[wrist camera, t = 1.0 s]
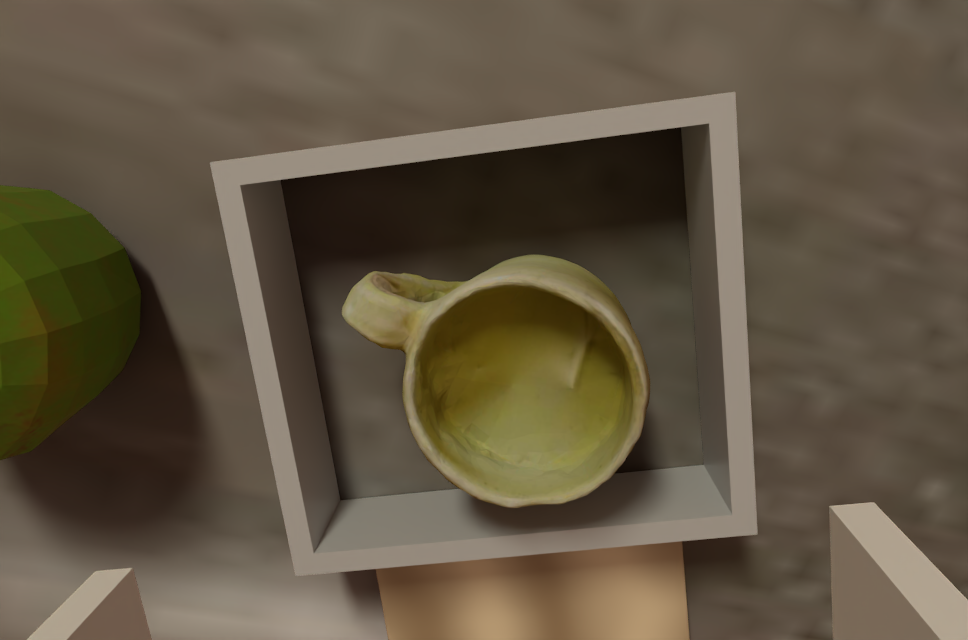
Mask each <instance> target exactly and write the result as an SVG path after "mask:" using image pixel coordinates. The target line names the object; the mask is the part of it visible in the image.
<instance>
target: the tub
mask: <svg viewBox="0 0 968 640" xmlns="http://www.w3.org/2000/svg"><path fill="white" fill-rule="evenodd" d="M678 127H681V135H682V150H683V165H684V180H685V195H686V210H687V225H688V240H689V255H690V270H691V285H692V300H693V315H694V330H695V345H696V360H697V375H698V390H699V404H700V419H701V434H702V449H703V464H704V465H697V466H687V467H676V468H666V469H656V470H646V471H636V472H625V473H615V474H614V475H613V476H612V477H611V478H610V479H609V480H607V481H606V482H604V483H602V484H601V485H600V486H599V487H598V488H596V489H595V490H593V491H592V492H591V493H589V494H588V495H586V496H583V497H580V498H578V499H575V500H571V501H568V502H566V503H564V504H544V505H531V506H524V507H520V508H507V507H503V506H499V505H496V504H492V503H488V502H485V501H482V500H479V499H476V498H474V497H472V496H471V495H469V494H468V493H466V492H465V491H463V490H461V489H451V490H441V491H431V492H421V493H410V494H400V495H390V496H380V497H369V498H359V499H349V500H340V495H339V490H338V485H337V479H336V474H335V469H334V463H333V458H332V453H331V447H330V442H329V437H328V431H327V426H326V420H325V415H324V410H323V404H322V399H321V394H320V388H319V383H318V378H317V372H316V367H315V362H314V356H313V351H312V346H311V340H310V335H309V330H308V324H307V319H306V314H305V308H304V303H303V298H302V292H301V287H300V282H299V276H298V271H297V266H296V260H295V255H294V250H293V244H292V239H291V234H290V228H289V223H288V218H287V212H286V207H285V202H284V196H283V191H282V186H281V180H283V179H290V178H298V177H305V176H313V175H321V174H328V173H336V172H343V171H351V170H359V169H366V168H374V167H381V166H389V165H397V164H404V163H412V162H419V161H427V160H435V159H442V158H450V157H458V156H465V155H473V154H480V153H488V152H496V151H503V150H511V149H518V148H526V147H534V146H541V145H549V144H556V143H564V142H572V141H579V140H587V139H594V138H602V137H610V136H617V135H625V134H632V133H640V132H648V131H655V130H663V129H670V128H678ZM210 166H211V170H212V175H213V180H214V185H215V190H216V194H217V199H218V204H219V209H220V214H221V219H222V223H223V228H224V233H225V238H226V243H227V248H228V252H229V257H230V262H231V267H232V272H233V276H234V281H235V286H236V291H237V296H238V301H239V305H240V310H241V315H242V320H243V325H244V329H245V334H246V339H247V344H248V349H249V354H250V358H251V363H252V368H253V373H254V378H255V383H256V387H257V392H258V397H259V402H260V407H261V411H262V416H263V421H264V426H265V431H266V436H267V440H268V445H269V450H270V455H271V460H272V464H273V469H274V474H275V479H276V484H277V489H278V493H279V498H280V503H281V508H282V513H283V518H284V522H285V527H286V532H287V537H288V542H289V546H290V551H291V556H292V561H293V566H294V571H295V575H296V576H302V575H313V574H324V573H336V572H347V571H358V570H369V569H380V568H391V567H402V566H413V565H424V564H435V563H446V562H457V561H468V560H480V559H491V558H502V557H513V556H524V555H535V554H546V553H557V552H568V551H579V550H590V549H601V548H612V547H624V546H635V545H646V544H657V543H668V542H679V541H690V540H701V539H712V538H723V537H734V536H745V535H756V534H757V515H756V495H755V475H754V456H753V436H752V416H751V396H750V376H749V356H748V336H747V317H746V297H745V277H744V257H743V237H742V217H741V197H740V178H739V158H738V138H737V118H736V98H735V92H730V93H722V94H715V95H708V96H700V97H693V98H685V99H678V100H670V101H663V102H655V103H648V104H641V105H633V106H626V107H618V108H611V109H603V110H596V111H588V112H581V113H574V114H566V115H559V116H551V117H544V118H536V119H529V120H521V121H514V122H507V123H499V124H492V125H484V126H477V127H469V128H462V129H455V130H447V131H440V132H432V133H425V134H417V135H410V136H402V137H395V138H388V139H380V140H373V141H365V142H358V143H350V144H343V145H335V146H328V147H321V148H313V149H306V150H298V151H291V152H283V153H276V154H268V155H261V156H254V157H246V158H239V159H231V160H224V161H216V162H210Z"/></svg>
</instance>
